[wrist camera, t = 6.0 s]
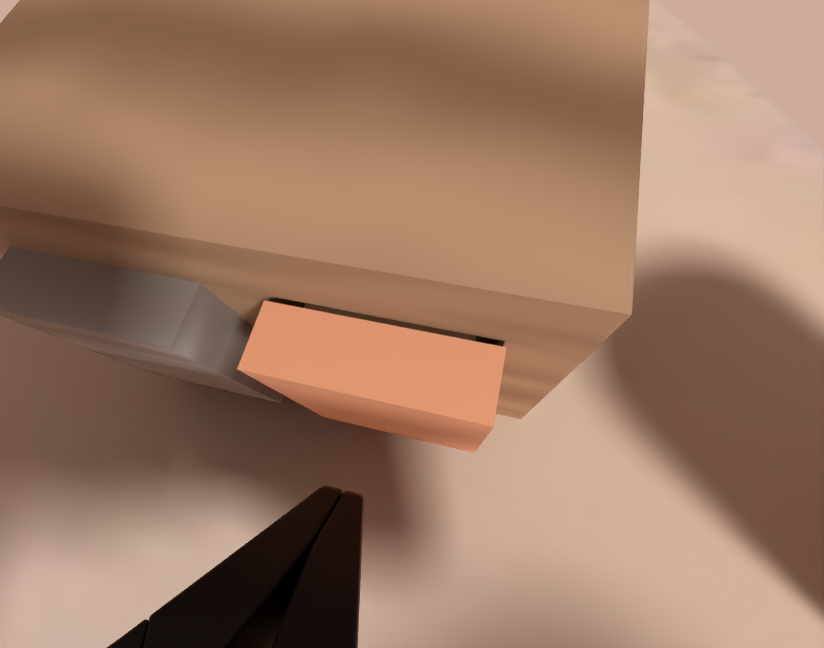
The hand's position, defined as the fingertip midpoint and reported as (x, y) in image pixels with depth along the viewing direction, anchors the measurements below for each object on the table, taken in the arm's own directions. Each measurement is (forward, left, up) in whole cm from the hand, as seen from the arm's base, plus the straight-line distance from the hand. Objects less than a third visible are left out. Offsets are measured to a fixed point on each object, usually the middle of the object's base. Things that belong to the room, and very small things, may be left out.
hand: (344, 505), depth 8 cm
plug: (+5, +4, -5) cm, 8 cm away
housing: (+4, +7, -6) cm, 10 cm away
